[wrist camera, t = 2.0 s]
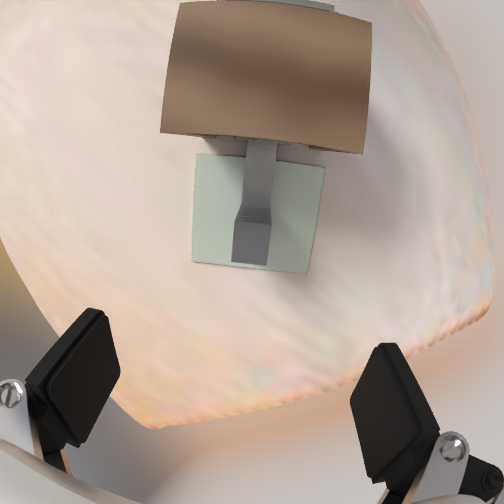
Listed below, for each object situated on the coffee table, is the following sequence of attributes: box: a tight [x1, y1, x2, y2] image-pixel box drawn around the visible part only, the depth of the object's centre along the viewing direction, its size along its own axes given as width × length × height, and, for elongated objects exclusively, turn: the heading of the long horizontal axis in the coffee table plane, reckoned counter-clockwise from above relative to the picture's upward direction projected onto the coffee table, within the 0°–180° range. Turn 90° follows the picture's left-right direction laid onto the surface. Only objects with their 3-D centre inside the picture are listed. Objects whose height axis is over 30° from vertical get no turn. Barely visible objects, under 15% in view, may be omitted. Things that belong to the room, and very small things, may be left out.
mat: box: [192, 154, 325, 274], centre depth 24 cm, size 10×11×1 cm
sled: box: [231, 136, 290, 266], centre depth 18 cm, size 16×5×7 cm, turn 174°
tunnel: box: [160, 1, 372, 154], centre depth 16 cm, size 8×10×10 cm
